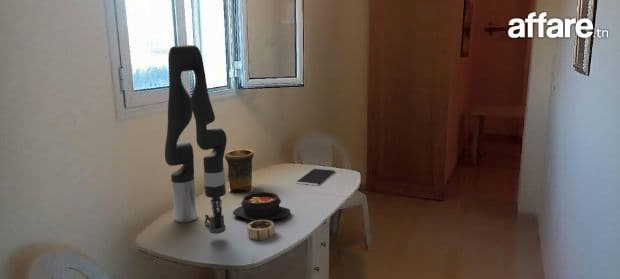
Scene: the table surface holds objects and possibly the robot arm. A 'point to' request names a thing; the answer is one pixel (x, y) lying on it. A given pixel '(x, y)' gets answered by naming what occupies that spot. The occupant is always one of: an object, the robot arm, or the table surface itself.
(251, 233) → the octagonal wooden ring
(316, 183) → the smartphone
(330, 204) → the table surface
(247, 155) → the vessel
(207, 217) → the wooden post with brackets
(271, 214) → the casserole
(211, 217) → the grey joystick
